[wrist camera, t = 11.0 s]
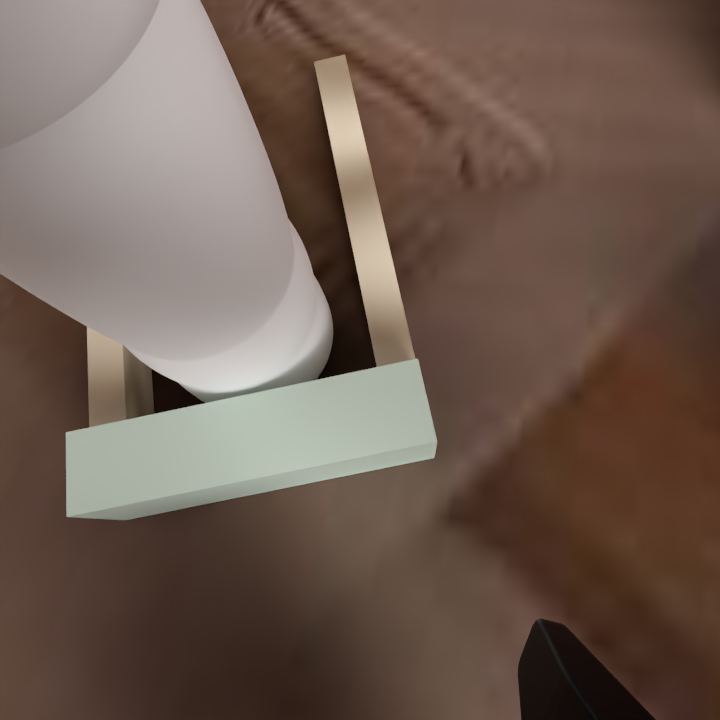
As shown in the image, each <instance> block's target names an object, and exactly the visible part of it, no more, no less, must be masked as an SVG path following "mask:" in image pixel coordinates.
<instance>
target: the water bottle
mask: <svg viewBox="0 0 720 720" xmlns="http://www.w3.org/2000/svg"><path fill="white" fill-rule="evenodd" d="M0 274H1V275H3V276H5V277H6V278H8V279H9V280H11V281H12V282H14V283H16V284H17V285H19V286H20V287H22V288H23V289H25V290H27V291H28V292H30V293H31V294H33V295H35V296H36V297H38V298H40V299H41V300H43V301H44V302H46V303H48V304H49V305H51V306H53V307H54V308H56V309H58V310H59V311H61V312H63V313H64V314H66V315H68V316H70V317H71V318H73V319H75V320H76V321H78V322H80V323H82V324H83V325H85V326H87V327H89V328H91V329H93V330H95V331H96V332H98V333H100V334H102V335H104V336H106V337H108V338H110V339H112V340H114V341H116V342H118V343H120V344H123V345H124V346H125V347H126V348H127V349H128V350H129V351H130V352H131V353H132V354H133V355H134V356H135V357H137V358H138V359H139V360H140V361H142V362H143V363H144V364H146V365H147V366H149V367H150V368H152V369H153V370H155V371H156V372H158V373H160V374H162V375H163V376H165V377H167V378H169V379H171V380H174V381H176V382H178V383H179V384H180V385H181V386H182V387H184V388H185V389H186V390H187V391H188V392H190V393H191V394H192V395H194V396H195V397H197V398H198V399H200V400H201V401H203V402H205V403H208V402H213V401H218V400H223V399H227V398H232V397H237V396H242V395H246V394H251V393H256V392H261V391H265V390H270V389H275V388H280V387H285V386H289V385H294V384H299V383H304V382H308V381H313V380H317V379H318V377H319V376H320V374H321V373H322V371H323V369H324V367H325V365H326V363H327V361H328V358H329V355H330V352H331V348H332V342H333V321H332V315H331V311H330V308H329V305H328V302H327V300H326V297H325V295H324V293H323V291H322V289H321V287H320V285H319V283H318V281H317V279H316V278H315V276H314V274H313V271H312V267H311V263H310V260H309V257H308V254H307V252H306V249H305V247H304V245H303V242H302V240H301V238H300V236H299V235H298V233H297V231H296V229H295V228H294V226H293V225H292V223H291V222H290V220H289V219H288V217H287V213H286V210H285V206H284V203H283V199H282V196H281V193H280V190H279V187H278V184H277V181H276V178H275V175H274V172H273V169H272V167H271V164H270V161H269V158H268V156H267V153H266V150H265V148H264V145H263V143H262V140H261V138H260V135H259V132H258V130H257V127H256V125H255V122H254V120H253V117H252V115H251V113H250V110H249V108H248V105H247V103H246V100H245V98H244V96H243V93H242V91H241V88H240V86H239V84H238V81H237V79H236V77H235V74H234V72H233V70H232V68H231V65H230V63H229V61H228V58H227V56H226V54H225V52H224V49H223V47H222V45H221V43H220V41H219V39H218V37H217V34H216V32H215V30H214V28H213V26H212V24H211V22H210V19H209V17H208V15H207V13H206V11H205V9H204V7H203V5H202V3H201V1H200V0H0Z"/></svg>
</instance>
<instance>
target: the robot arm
mask: <svg viewBox="0 0 720 720" xmlns="http://www.w3.org/2000/svg"><path fill="white" fill-rule="evenodd" d="M518 683H519V695H520V708H521V720H656V719H655V718H654V717H653V716H652V715H651V714H650V713H649V712H648V711H647V710H646V709H645V708H644V707H643V706H642V705H641V704H640V703H639V702H638V701H637V700H636V699H635V698H634V697H633V696H632V694H631V693H630V692H629V691H628V690H627V689H626V688H625V687H624V686H623V685H622V684H621V683H620V682H619V681H618V680H617V679H616V678H615V677H614V676H613V675H612V674H611V673H610V672H609V671H608V670H607V669H606V667H605V666H604V665H603V664H602V663H601V662H600V661H599V660H598V659H597V658H596V657H595V656H594V655H593V654H592V653H591V652H590V651H589V650H588V649H587V648H586V647H585V646H584V645H583V644H582V643H581V642H580V640H579V639H578V638H577V637H576V636H575V635H574V634H573V633H572V632H571V631H570V630H569V629H568V628H567V627H566V626H565V625H563V624H561V623H557V622H553V621H549V620H545V619H538V620H536V621H535V623H534V624H533V626H532V628H531V631H530V634H529V636H528V639H527V642H526V644H525V647H524V649H523V652H522V655H521V657H520V661H519V666H518Z"/></svg>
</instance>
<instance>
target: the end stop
mask: <svg viewBox="0 0 720 720" xmlns="http://www.w3.org/2000/svg"><path fill="white" fill-rule="evenodd" d="M436 446H437V438H436V434H435V430H434V426H433V421H432V417H431V413H430V408H429V404H428V400H427V396H426V391H425V387H424V383H423V378H422V374H421V370H420V365H419V361H418V359H413V360H408V361H404V362H399V363H394V364H389V365H385V366H380V367H375V368H370V369H366V370H361V371H356V372H351V373H347V374H342V375H337V376H332V377H327V378H323V379H318V380H313V381H308V382H304V383H299V384H294V385H289V386H285V387H280V388H275V389H270V390H265V391H261V392H256V393H251V394H246V395H242V396H237V397H232V398H227V399H223V400H218V401H213V402H208V403H204V404H199V405H194V406H189V407H184V408H180V409H175V410H170V411H165V412H161V413H156V414H151V415H146V416H142V417H137V418H132V419H127V420H123V421H118V422H113V423H108V424H103V425H99V426H94V427H89V428H84V429H80V430H75V431H70V432H66V516H67V517H76V518H94V519H111V520H130V519H135V518H140V517H145V516H150V515H155V514H160V513H165V512H169V511H174V510H179V509H184V508H189V507H194V506H199V505H204V504H209V503H214V502H219V501H224V500H229V499H234V498H239V497H244V496H249V495H254V494H259V493H264V492H269V491H273V490H278V489H283V488H288V487H293V486H298V485H303V484H308V483H313V482H318V481H323V480H328V479H333V478H338V477H343V476H348V475H353V474H358V473H363V472H368V471H373V470H377V469H382V468H387V467H392V466H397V465H402V464H407V463H412V462H417V461H422V460H427V459H432V458H434V457H435V451H436Z"/></svg>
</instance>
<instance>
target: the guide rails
mask: <svg viewBox="0 0 720 720" xmlns="http://www.w3.org/2000/svg"><path fill="white" fill-rule="evenodd" d="M314 64H315V69H316V74H317V79H318V84H319V89H320V94H321V98H322V103H323V108H324V113H325V118H326V123H327V128H328V132H329V137H330V142H331V147H332V152H333V157H334V162H335V166H336V171H337V176H338V181H339V186H340V191H341V196H342V200H343V205H344V210H345V215H346V220H347V225H348V230H349V234H350V239H351V244H352V249H353V254H354V259H355V264H356V268H357V273H358V278H359V283H360V288H361V293H362V298H363V302H364V307H365V312H366V317H367V322H368V327H369V332H370V336H371V341H372V346H373V351H374V356H375V361H376V366H377V367H380V366H385V365H389V364H394V363H399V362H404V361H408V360H413V359H415V356H414V351H413V347H412V343H411V338H410V334H409V330H408V325H407V321H406V317H405V312H404V308H403V304H402V299H401V295H400V291H399V286H398V282H397V278H396V274H395V269H394V265H393V261H392V256H391V252H390V248H389V243H388V239H387V235H386V230H385V226H384V222H383V217H382V213H381V209H380V204H379V200H378V196H377V191H376V187H375V183H374V178H373V174H372V170H371V165H370V161H369V157H368V152H367V148H366V144H365V140H364V135H363V131H362V127H361V122H360V118H359V114H358V109H357V105H356V101H355V96H354V92H353V88H352V83H351V79H350V75H349V70H348V66H347V62H346V57H345V55H341V56H337V57H333V58H328V59H324V60H320V61H315V62H314ZM87 351H88V395H89V427H94V426H99V425H103V424H108V423H113V422H118V421H123V420H127V419H132V418H137V417H142V416H146V415H151V414H154V400H153V385H152V369H151V368H150V367H149V366H147V365H146V364H144V363H143V362H142V361H140V360H139V359H138V358H137V357H135V356H134V355H133V354H132V353H131V352H130V351H129V350H128V349H127V348H126V347H125V346H124V345H123V344H120V343H118V342H116V341H114V340H112V339H110V338H108V337H106V336H104V335H102V334H100V333H98V332H96V331H95V330H93V329H91V328H89V327H87Z"/></svg>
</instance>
